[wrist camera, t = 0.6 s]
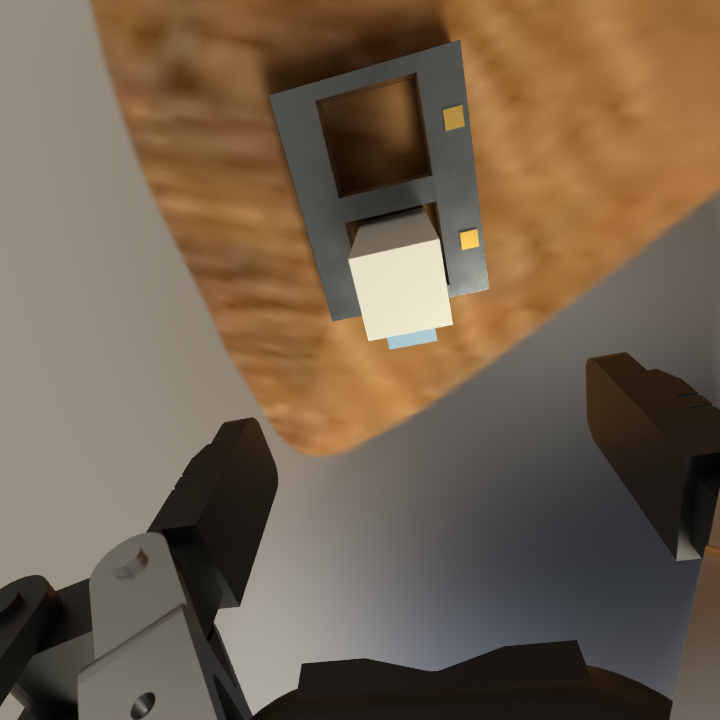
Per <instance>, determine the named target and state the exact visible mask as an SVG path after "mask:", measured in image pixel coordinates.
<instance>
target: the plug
mask: <svg viewBox="0 0 720 720" xmlns="http://www.w3.org/2000/svg"><path fill="white" fill-rule="evenodd" d="M348 260H349V265H350V269H351V273H352V277H353V281H354V285H355V289H356V293H357V297H358V301H359V305H360V309H361V313H362V317H363V321H364V325H365V329H366V333H367V337H368V341H372V340H377V339H382V338H387V340H388V344H389V349H390V350H391V349H396V348H401V347H406V346H412V345H417V344H422V343H427V342H433V341H437V336H436V330H435V328H438V327H444V326H449V325H453V322H452V316H451V309H450V303H449V297H448V290H447V284H446V278H445V271H444V265H443V259H442V252H441V246H440V240H439V237H438V235H437V233H436V231H435V229H434V228H433V226H432V224H431V222H430V220H429V218H428V216H427V214H426V212H425V210H424V208H423V207H422V208H417V209H413V210H409V211H405V212H401V213H396V214H392V215H388V216H384V217H380V218H375V219H371V220H367V221H363V222H361V223H360V226H359V229H358V232H357V235H356V238H355V241H354V244H353V247H352V250H351V253H350V256H349V258H348Z"/></svg>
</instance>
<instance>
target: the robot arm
mask: <svg viewBox="0 0 720 720" xmlns="http://www.w3.org/2000/svg"><path fill="white" fill-rule="evenodd" d="M586 396H587V420H588V425H589V429H590V432H591V435H592V437H593V440H594V442H595V443H596V445H597V446H598V448H599V449H600V451H601V452H602V453H603V455H604V456H605V458H606V459H607V461H608V462H609V464H610V465H611V467H612V468H613V469H614V471H615V472H616V474H617V475H618V477H619V478H620V480H621V481H622V483H623V484H624V485H625V487H626V488H627V490H628V491H629V493H630V494H631V496H632V497H633V499H634V500H635V501H636V503H637V504H638V506H639V507H640V509H641V510H642V512H643V513H644V514H645V516H646V517H647V519H648V520H649V522H650V523H651V525H652V526H653V528H654V529H655V531H656V532H657V533H658V535H659V536H660V538H661V539H662V541H663V542H664V544H665V545H666V546H667V548H668V549H669V551H670V552H671V554H672V555H673V557H674V558H675V560H676V561H679V560H690V559H699V558H702V559H703V561H702V565H701V570H700V575H699V580H698V585H697V589H696V594H695V599H694V604H693V609H692V613H691V619H690V624H689V628H688V633H687V638H686V642H685V647H684V652H683V657H682V661H681V667H680V671H679V676H678V681H677V686H676V690H675V695H674V700H673V701H672V700H670V699H668V698H667V697H666V696H664V695H662V694H661V693H659V692H657V691H655V690H653V689H651V688H649V687H648V686H646V685H644V684H642V683H640V682H638V681H635V680H633V679H630V678H628V677H625V676H623V675H621V674H618V673H615V672H611V671H608V670H605V669H601V668H598V667H593V666H588V665H586V663H585V661H584V658H583V655H582V653H581V650H580V648H579V645H578V642H577V640H573V641H562V642H549V643H538V644H526V645H515V646H504V647H501V648H499V649H496V650H493V651H491V652H488V653H485V654H483V655H480V656H477V657H475V658H472V659H469V660H467V661H464V662H462V663H459V664H456V665H453V666H451V667H448V668H445V669H443V670H439V671H424V670H419V669H415V668H409V667H405V666H400V665H395V664H390V663H385V662H380V661H375V660H370V659H364V658H363V659H351V660H341V661H340V660H339V661H328V662H317V663H304V664H302V666H301V672H300V678H299V684H298V689H295V690H293V691H290V692H289V693H287V694H285V695H283V696H281V697H279V698H277V699H276V700H274V701H273V702H271V703H270V704H268V705H267V706H266V707H264V708H262V709H261V710H260V711H259V712H258V713H256V714H255V715H254V716H253V715H252V712H251V711H250V708H249V706H248V704H247V702H246V699H245V697H244V694H243V691H242V689H241V686H240V684H239V681H238V679H237V676H236V674H235V671H234V669H233V666H232V664H231V661H230V658H229V656H228V653H227V651H226V648H225V646H224V643H223V641H222V638H221V636H220V633H219V630H218V629H217V627H216V625H215V623H214V619H215V616H216V614H217V611H218V609H221V608H231V607H240V604H241V601H242V598H243V595H244V591H245V588H246V585H247V582H248V579H249V576H250V573H251V569H252V566H253V563H254V560H255V557H256V554H257V551H258V548H259V545H260V541H261V538H262V535H263V532H264V529H265V526H266V523H267V520H268V516H269V513H270V510H271V507H272V504H273V501H274V498H275V494H276V491H277V487H278V473H277V468H276V465H275V462H274V459H273V457H272V454H271V452H270V449H269V447H268V444H267V442H266V440H265V437H264V434H263V432H262V430H261V427H260V425H259V423H258V421H257V420H256V419H255V418H253V417H252V418H246V419H240V420H235V421H229V422H225V423H223V424H222V426H221V428H220V429H219V431H218V433H217V434H216V436H215V438H214V439H213V441H212V443H211V444H208V445H206V446H205V447H204V448H203V449H202V450H201V451H200V452H199V453H198V454H197V455H195V456H194V457H193V458H192V459H191V461H190V463H189V464H188V466H187V467H186V469H185V471H184V472H183V474H182V475H183V477H180V479H179V480H178V482H177V484H176V485H175V490H172V492H171V493H170V495H169V496H168V498H167V500H166V501H165V503H164V504H163V506H162V508H161V510H160V511H159V513H158V514H157V516H156V517H155V519H154V521H153V522H152V524H151V526H150V527H149V529H148V530H147V532H146V533H142V534H139V535H136V536H133V537H131V538H129V539H127V540H125V541H123V542H122V543H120V544H119V545H117V546H116V547H115V548H113V549H112V550H111V551H110V552H108V553H107V554H106V555H105V556H104V557H103V558H102V559H101V561H100V562H99V563H98V564H97V566H96V567H95V569H94V570H93V572H92V574H91V577H90V578H89V579H86V580H83V581H81V582H78V583H76V584H73V585H70V586H68V587H65V588H63V589H60V590H58V591H55V590H54V589H53V588H52V586H51V585H50V584H49V582H48V581H47V580H46V579H45V578H44V577H43V576H40V575H32V576H27V577H24V578H21V579H18V580H16V581H14V582H12V583H10V584H8V585H6V586H4V587H3V588H1V589H0V706H1V705H2V703H3V701H4V700H5V698H6V697H7V695H8V694H9V692H10V693H11V694H12V695H13V696H14V697H15V698H16V699H17V700H18V701H19V702H20V703H21V704H22V705H23V706H24V707H25V708H24V710H23V711H22V713H21V715H20V717H19V718H18V720H720V410H719V409H718V408H716V407H713V406H712V403H710V402H709V401H708V400H707V399H705V398H704V397H703V396H702V395H698V392H697V391H696V390H694V389H693V388H692V387H691V386H689V385H688V384H687V383H686V382H684V381H683V380H682V379H680V378H678V377H675V376H673V375H670V374H668V373H665V372H663V371H660V370H658V369H654V370H649V371H647V370H646V369H645V368H644V367H643V366H641V365H640V364H639V363H638V362H637V361H636V360H635V359H634V358H632V357H631V356H630V355H629V354H628V353H626V352H622V353H616V354H611V355H605V356H600V357H594V358H590V359H588V361H587V363H586Z"/></svg>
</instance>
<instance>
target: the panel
mask: <svg viewBox="0 0 720 720" xmlns="http://www.w3.org/2000/svg"><path fill="white" fill-rule="evenodd" d="M412 78H414V81H415V87H416V93H417V100H418V106H419V112H420V119H421V125H422V131H423V138H424V144H425V150H426V157H427V163H428V169H429V173H425V174H421V175H417V176H413V177H409V178H405V179H401V180H397V181H393V182H389V183H385V184H381V185H377V186H373V187H369V188H365V189H361V190H357V191H353V192H349V193H344V194H343V193H342V188H341V184H340V180H339V176H338V172H337V168H336V163H335V159H334V155H333V151H332V147H331V143H330V138H329V134H328V130H327V126H326V122H325V117H324V113H323V109H322V105H321V104H324V103H327V102H331V101H334V100H338V99H341V98H345V97H348V96H352V95H355V94H359V93H362V92H366V91H370V90H373V89H377V88H380V87H384V86H387V85H391V84H394V83H398V82H401V81H405V80H408V79H412ZM269 97H270V101H271V105H272V108H273V112H274V115H275V119H276V122H277V126H278V129H279V133H280V136H281V140H282V144H283V147H284V151H285V154H286V158H287V161H288V165H289V168H290V172H291V176H292V179H293V183H294V186H295V190H296V193H297V197H298V200H299V204H300V207H301V211H302V215H303V218H304V222H305V225H306V229H307V232H308V236H309V239H310V243H311V247H312V250H313V254H314V257H315V261H316V264H317V268H318V271H319V275H320V278H321V282H322V286H323V289H324V293H325V296H326V300H327V303H328V307H329V310H330V314H331V318H332V321H337V320H342V319H347V318H352V317H357V316H362V313H361V309H360V305H359V301H358V297H357V293H356V289H355V285H354V281H353V277H352V273H351V269H350V265H349V260H348V258H349V256H350V253H351V250H352V247H353V244H354V238H353V234H352V230H351V226H350V222H352V221H356V220H361V219H365V218H369V217H373V216H377V215H382V214H386V213H390V212H394V211H398V210H402V209H407V208H411V207H415V206H419V205H423V204H428V203H432V202H434V207H435V213H436V220H437V226H438V232H439V239H440V245H441V251H442V258H443V264H444V270H445V278H446V284H447V290H448V297H449V298H450V297H454V296H459V295H464V294H469V293H474V292H479V291H484V290H489V284H488V275H487V267H486V258H485V250H484V241H483V232H482V224H481V215H480V207H479V198H478V190H477V181H476V172H475V164H474V155H473V147H472V138H471V129H470V121H469V112H468V104H467V95H466V87H465V78H464V69H463V61H462V52H461V44H460V40H458V41H454V42H451V43H448V44H444V45H441V46H437V47H434V48H430V49H427V50H424V51H420V52H417V53H413V54H410V55H406V56H403V57H400V58H396V59H393V60H389V61H386V62H382V63H379V64H376V65H372V66H369V67H365V68H362V69H358V70H355V71H352V72H348V73H345V74H341V75H338V76H334V77H331V78H327V79H324V80H321V81H317V82H314V83H310V84H307V85H303V86H300V87H297V88H293V89H290V90H286V91H283V92H279V93H276V94H273V95H269Z"/></svg>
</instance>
